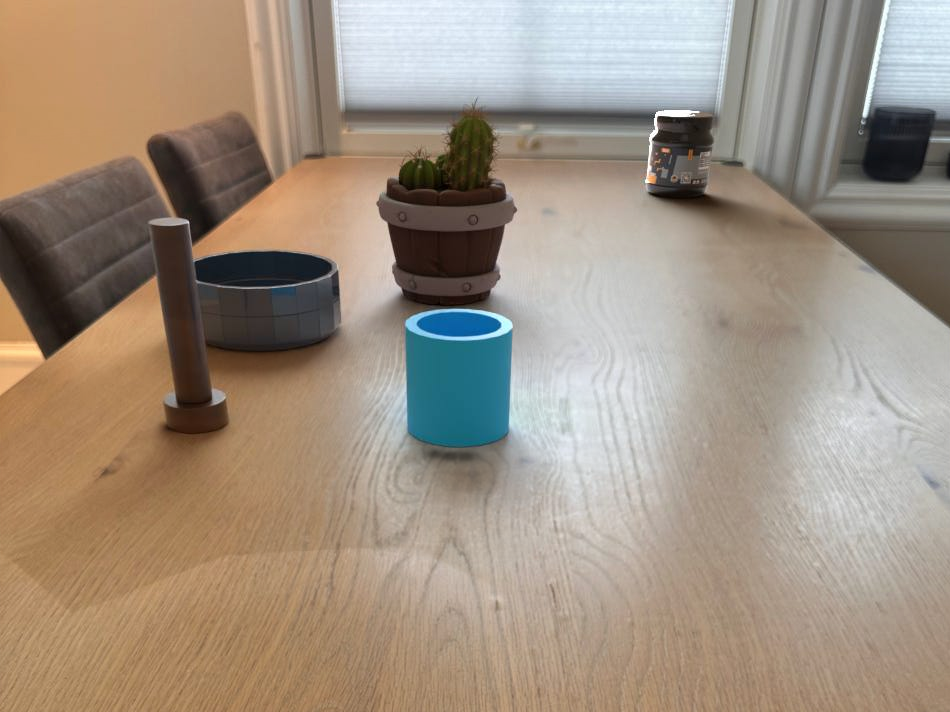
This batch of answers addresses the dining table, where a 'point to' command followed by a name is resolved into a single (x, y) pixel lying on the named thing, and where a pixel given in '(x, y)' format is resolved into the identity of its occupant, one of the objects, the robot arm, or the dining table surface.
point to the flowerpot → (449, 217)
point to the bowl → (267, 299)
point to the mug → (458, 376)
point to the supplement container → (680, 154)
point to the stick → (184, 332)
